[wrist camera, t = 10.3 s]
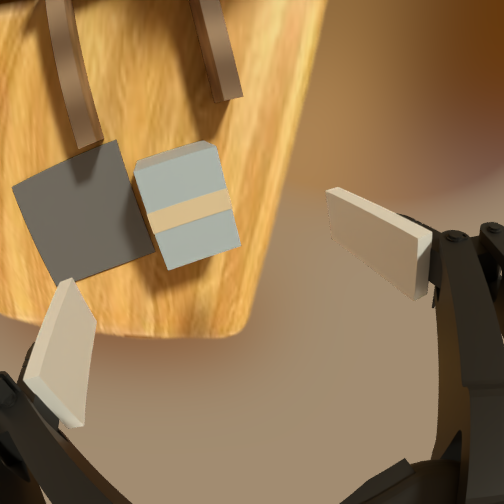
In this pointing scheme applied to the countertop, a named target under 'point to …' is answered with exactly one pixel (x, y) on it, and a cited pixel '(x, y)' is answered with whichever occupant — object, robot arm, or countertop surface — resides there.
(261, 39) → the countertop surface
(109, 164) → the mat
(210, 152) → the block
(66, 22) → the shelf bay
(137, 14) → the countertop surface
